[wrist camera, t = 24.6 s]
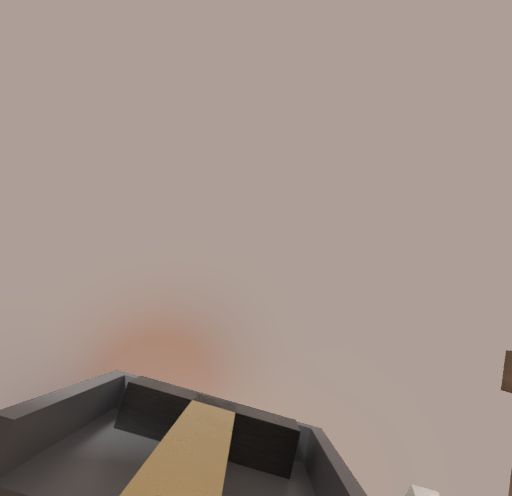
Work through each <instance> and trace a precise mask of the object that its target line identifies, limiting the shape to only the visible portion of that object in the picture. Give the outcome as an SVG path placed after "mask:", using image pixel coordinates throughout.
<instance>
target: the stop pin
mask: <svg viewBox="0 0 512 496" xmlns="http://www.w3.org/2000/svg"><path fill="white" fill-rule="evenodd" d="M113 428H115V429H119V430H122V431H125V432H129V433H132V434H136V435H139V436H143V437H146V438H149V439H153V440H156V441H160V443H159V444H158V446H157V447H156V448H155V450H154V451H153V452H152V454H151V455H150V456H149V457H148V459H147V460H146V461H145V463H144V464H143V465H142V467H141V468H140V469H139V471H138V472H137V473H136V475H135V476H134V477H133V478H132V480H131V481H130V482H129V484H128V485H127V486H126V488H125V489H124V490H123V492H122V493H121V494H120V495H119V496H222V490H223V484H224V478H225V472H226V466H227V461H228V462H231V463H235V464H238V465H242V466H245V467H249V468H252V469H255V470H259V471H262V472H266V473H269V474H272V475H276V476H279V477H283V478H286V479H290V476H291V472H292V468H293V463H294V459H295V454H296V450H297V446H298V441H299V437H300V433H301V431H300V428H299V426H298V424H297V422H296V420H294V419H290V418H287V417H283V416H280V415H276V414H273V413H269V412H266V411H262V410H259V409H255V408H252V407H249V406H245V405H241V404H238V403H234V402H231V401H228V400H224V399H221V398H217V397H213V396H210V395H206V394H203V393H200V392H196V391H193V390H189V389H185V388H182V387H179V386H175V385H172V384H168V383H165V382H161V381H158V380H154V379H151V378H147V377H143V376H139V377H137V378H135V379H133V380H131V381H129V382H128V384H127V387H126V390H125V393H124V396H123V399H122V403H121V406H120V409H119V412H118V415H117V418H116V421H115V424H114V427H113Z"/></svg>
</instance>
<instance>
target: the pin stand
mask: <svg viewBox="0 0 512 496" xmlns="http://www.w3.org/2000/svg"><path fill="white" fill-rule="evenodd" d="M501 390H503V391H506V392H510V393H512V351H506V356H505V363H504V371H503V379H502V386H501ZM509 496H512V471H511V479H510V488H509Z"/></svg>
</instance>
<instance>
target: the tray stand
mask: <svg viewBox="0 0 512 496" xmlns="http://www.w3.org/2000/svg"><path fill="white" fill-rule="evenodd" d="M137 377H139V376H136V375H133V374H129V373H126V372H122V371H119V370H115V371H113V372H110V373H107V374H104V375H101V376H98V377H95V378H92V379H89V380H86V381H84V382H80V383H77V384H75V385H72V386H69V387H66V388H63V389H60V390H57V391H54V392H51V393H48V394H45V395H43V396H39V397H37V398H34V399H31V400H28V401H25V402H22V403H19V404H16V405H14V406H10V407H7V408H5V409H2V410H0V496H119V495H120V494H121V493H122V492H123V490H124V489H125V488H126V486H127V485H128V484H129V482H130V481H131V480H132V478H133V477H134V476H135V475H136V473H137V472H138V471H139V469H140V468H141V467H142V465H143V464H144V463H145V461H146V460H147V459H148V457H149V456H150V455H151V454H152V452H153V451H154V450H155V448H156V447H157V446H158V444H159V443H160V441H156V440H153V439H149V438H146V437H143V436H139V435H136V434H132V433H129V432H125V431H122V430H119V429H115V428H113V427H114V424H115V421H116V418H117V415H118V412H119V409H120V406H121V403H122V399H123V396H124V393H125V390H126V387H127V384H128V382H129V381H131V380H133V379H135V378H137ZM296 422H297V421H296ZM297 424H298V426H299V428H300V431H301V433H300V437H299V441H298V446H297V450H296V454H295V459H294V463H293V468H292V472H291V476H290V479H286V478H283V477H279V476H276V475H272V474H269V473H266V472H262V471H259V470H255V469H252V468H249V467H245V466H242V465H238V464H235V463H231V462H228V461H227V466H226V472H225V478H224V484H223V490H222V496H367V495H366V493H365V492H364V490H363V489H362V487H361V486H360V485H359V483H358V482H357V480H356V479H355V477H354V476H353V474H352V473H351V471H350V470H349V468H348V467H347V465H346V464H345V462H344V461H343V460H342V458H341V457H340V455H339V454H338V452H337V451H336V450H335V448H334V446H333V445H332V443H331V442H330V440H329V439H328V438H327V436H326V435H325V433H324V432H323V430H322V429H321V428H318V427H314V426H311V425H307V424H304V423H300V422H297Z"/></svg>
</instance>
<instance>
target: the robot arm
mask: <svg viewBox="0 0 512 496" xmlns="http://www.w3.org/2000/svg"><path fill="white" fill-rule="evenodd" d="M406 496H440V495H439V493H438V492H437V491H433V490H430V489H426V488H423V487H419V486H416V485H413V484H412V485H411V487H410V488H409V490H408V492H407V494H406Z"/></svg>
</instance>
